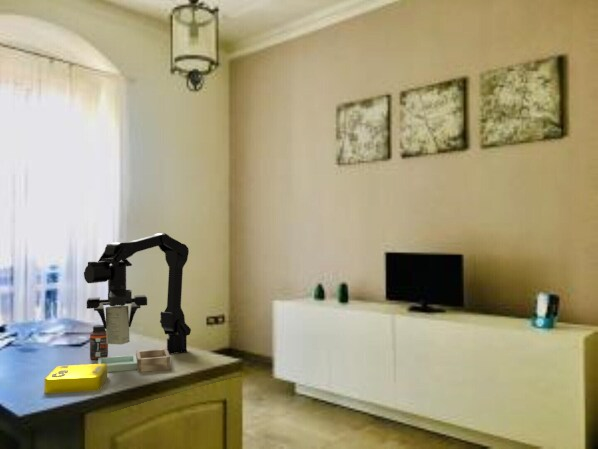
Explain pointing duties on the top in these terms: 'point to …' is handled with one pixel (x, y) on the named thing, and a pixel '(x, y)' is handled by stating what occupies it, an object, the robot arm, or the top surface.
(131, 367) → the tray
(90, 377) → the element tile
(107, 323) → the skincare box
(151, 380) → the top surface
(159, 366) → the frame
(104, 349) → the supplement bottle
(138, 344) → the top surface
